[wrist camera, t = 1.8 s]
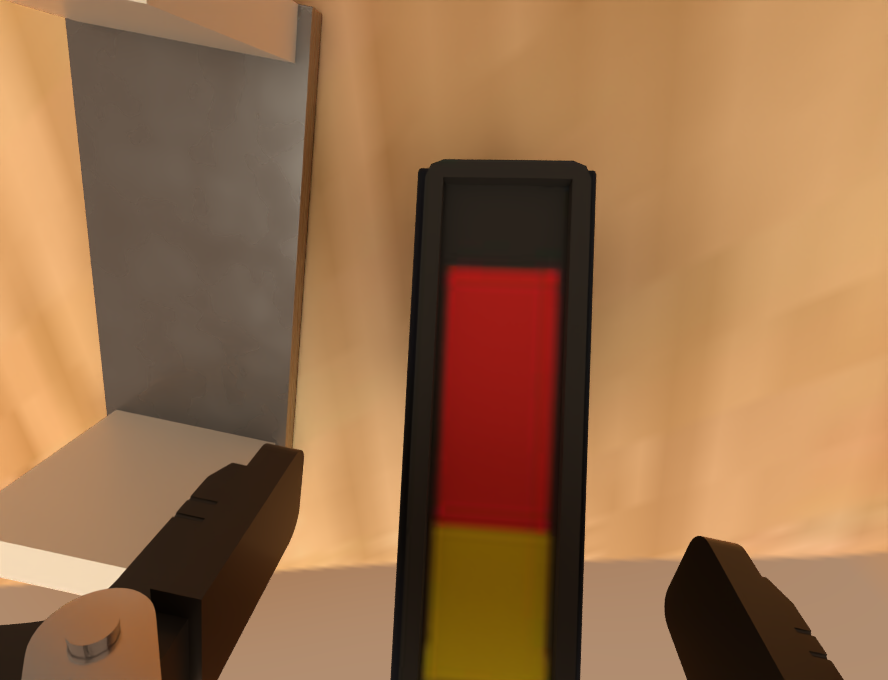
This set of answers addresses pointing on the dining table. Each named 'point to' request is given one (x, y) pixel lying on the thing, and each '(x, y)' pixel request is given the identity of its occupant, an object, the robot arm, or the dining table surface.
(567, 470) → the magazine
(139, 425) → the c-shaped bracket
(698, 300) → the dining table surface
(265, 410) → the rail plate
